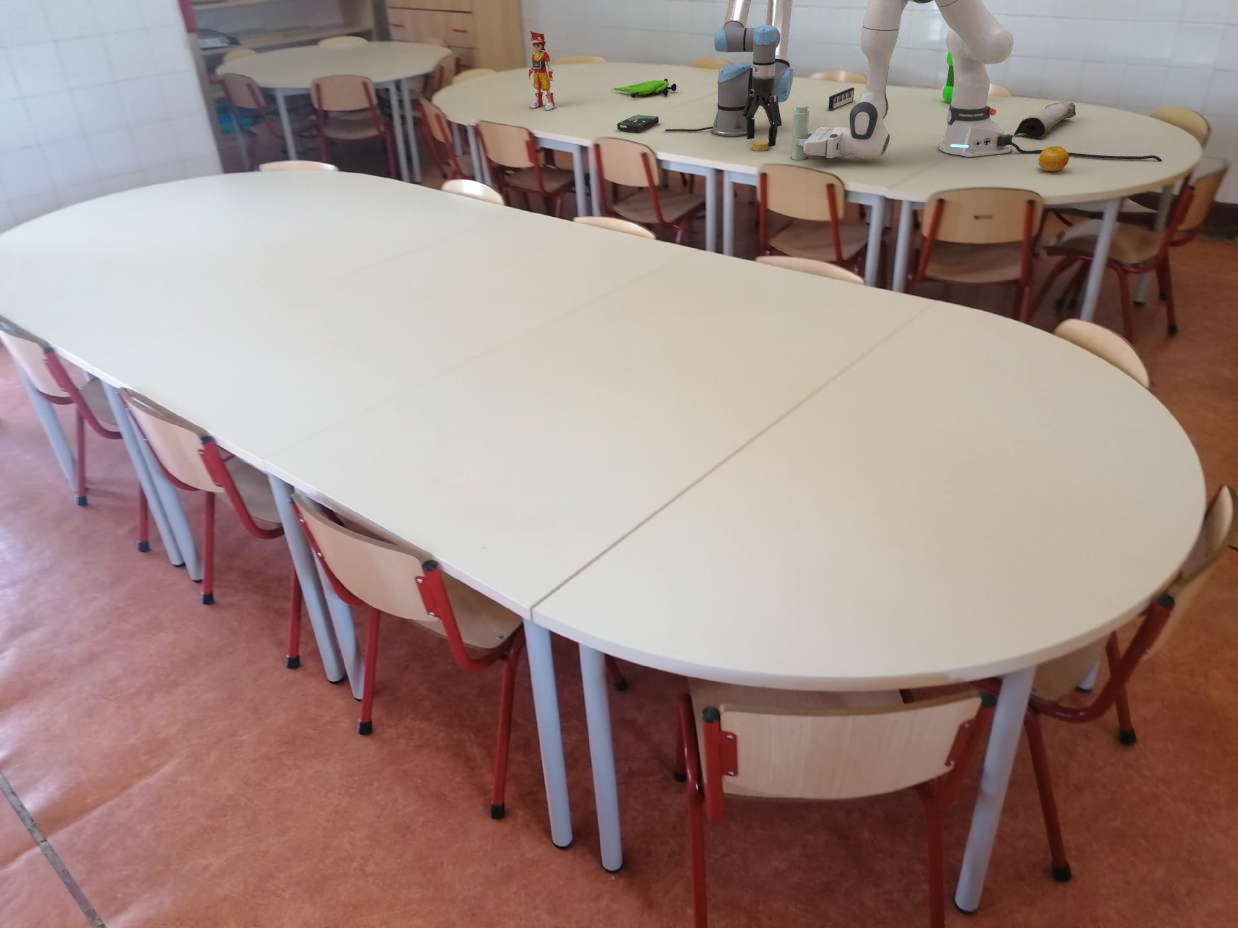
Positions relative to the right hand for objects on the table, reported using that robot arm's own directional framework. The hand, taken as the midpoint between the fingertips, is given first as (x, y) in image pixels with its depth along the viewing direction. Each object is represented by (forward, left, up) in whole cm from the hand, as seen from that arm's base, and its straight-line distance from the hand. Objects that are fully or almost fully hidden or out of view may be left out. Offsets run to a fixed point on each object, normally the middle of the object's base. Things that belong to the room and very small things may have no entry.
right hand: (797, 138), depth 302 cm
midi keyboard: (-28, -67, -6) cm, 73 cm away
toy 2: (+51, -110, -6) cm, 121 cm away
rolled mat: (-91, -20, -6) cm, 94 cm away
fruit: (-75, +27, -6) cm, 80 cm away
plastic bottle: (-72, -63, -6) cm, 96 cm away
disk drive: (+53, -50, -6) cm, 73 cm away
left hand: (+10, -13, -4) cm, 18 cm away
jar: (-1, 0, -6) cm, 6 cm away
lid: (+11, -13, -5) cm, 17 cm away
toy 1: (+94, -91, -6) cm, 131 cm away
